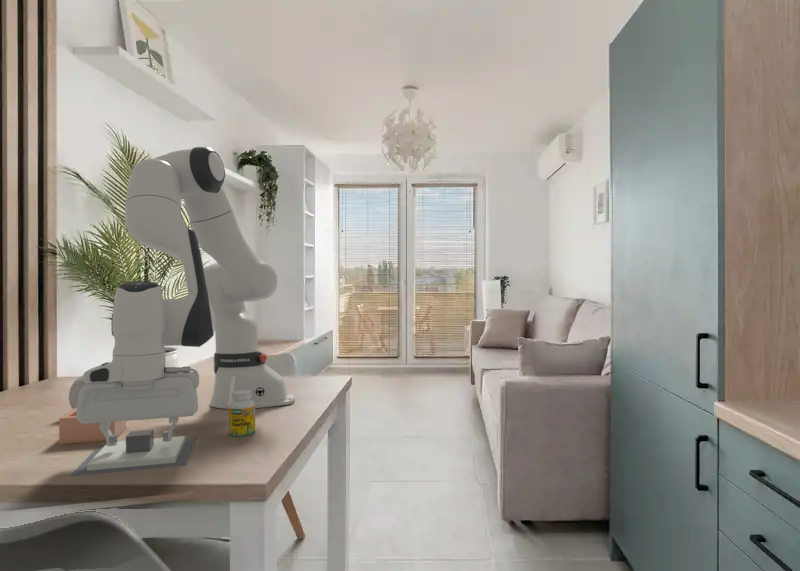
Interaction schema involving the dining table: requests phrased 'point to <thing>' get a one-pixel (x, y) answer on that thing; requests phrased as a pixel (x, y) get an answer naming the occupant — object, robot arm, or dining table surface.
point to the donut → (75, 391)
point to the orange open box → (84, 430)
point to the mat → (180, 461)
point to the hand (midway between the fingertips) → (140, 443)
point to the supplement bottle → (241, 414)
